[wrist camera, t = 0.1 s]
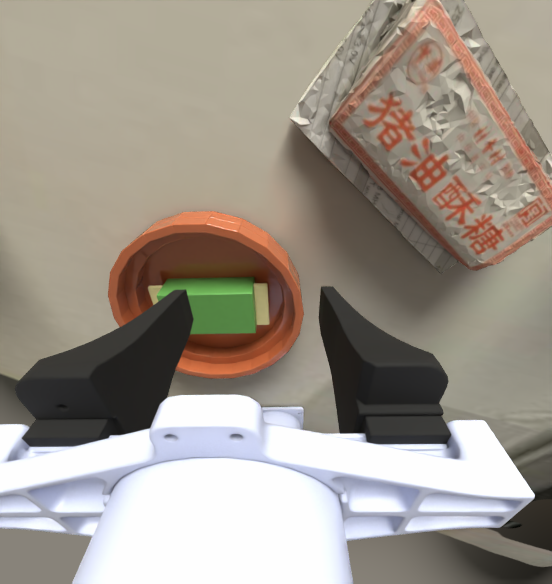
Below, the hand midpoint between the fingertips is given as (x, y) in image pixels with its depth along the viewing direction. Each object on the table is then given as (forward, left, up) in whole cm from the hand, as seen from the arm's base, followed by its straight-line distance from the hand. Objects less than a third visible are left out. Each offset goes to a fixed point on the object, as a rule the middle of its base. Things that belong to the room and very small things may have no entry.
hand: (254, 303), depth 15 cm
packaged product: (+6, -12, -10) cm, 17 cm away
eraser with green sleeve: (-6, +5, -10) cm, 12 cm away
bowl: (-6, +5, -10) cm, 13 cm away
